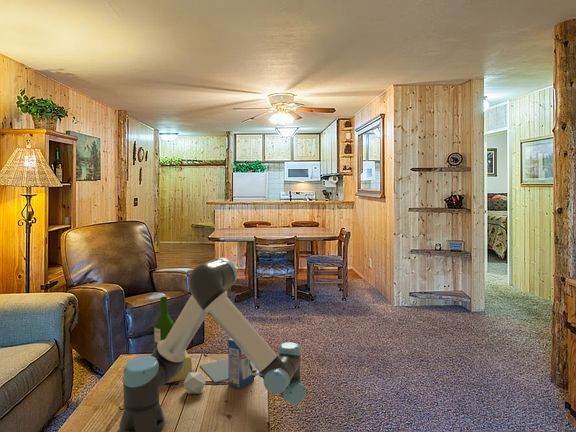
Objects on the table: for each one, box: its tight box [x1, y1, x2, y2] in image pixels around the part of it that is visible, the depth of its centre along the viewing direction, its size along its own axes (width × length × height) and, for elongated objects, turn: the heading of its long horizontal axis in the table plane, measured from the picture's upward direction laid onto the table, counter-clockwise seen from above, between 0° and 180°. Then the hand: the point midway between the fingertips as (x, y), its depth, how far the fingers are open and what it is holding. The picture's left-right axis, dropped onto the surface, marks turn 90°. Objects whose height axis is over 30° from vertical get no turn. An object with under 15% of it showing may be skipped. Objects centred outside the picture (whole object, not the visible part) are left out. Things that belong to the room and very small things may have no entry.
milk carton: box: [227, 337, 255, 390], centre depth 185 cm, size 10×6×20 cm, turn 148°
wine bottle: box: [153, 296, 175, 349], centre depth 202 cm, size 9×9×32 cm
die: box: [183, 371, 206, 395], centre depth 177 cm, size 8×9×10 cm
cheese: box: [167, 349, 193, 384], centre depth 191 cm, size 10×11×10 cm
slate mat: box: [199, 358, 229, 384], centre depth 198 cm, size 18×20×1 cm
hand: (249, 355), depth 179 cm, fingers closed
